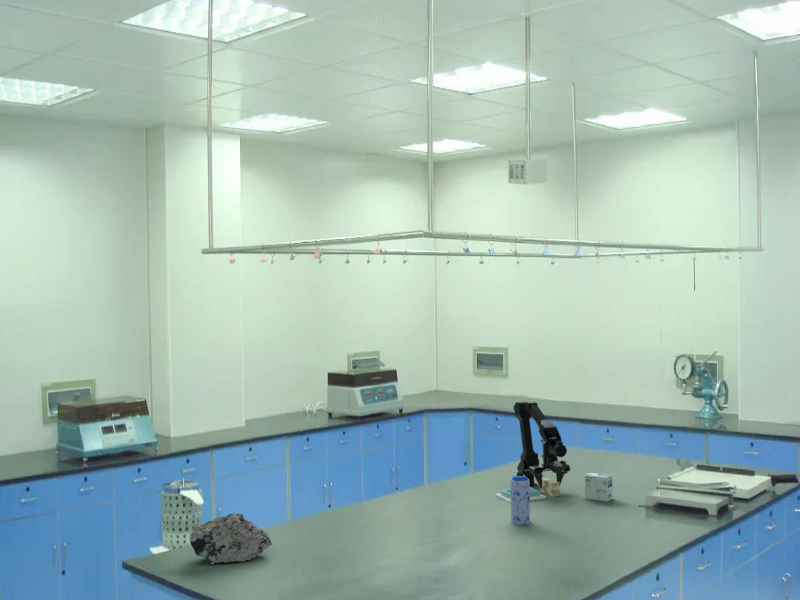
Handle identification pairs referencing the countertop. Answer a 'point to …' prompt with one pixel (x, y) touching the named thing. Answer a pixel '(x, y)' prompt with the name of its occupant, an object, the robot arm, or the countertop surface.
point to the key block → (550, 487)
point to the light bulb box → (598, 487)
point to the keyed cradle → (507, 495)
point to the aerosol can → (520, 499)
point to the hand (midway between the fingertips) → (549, 487)
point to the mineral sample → (229, 539)
